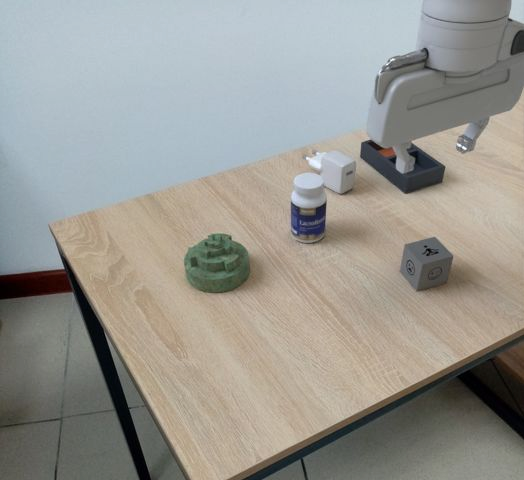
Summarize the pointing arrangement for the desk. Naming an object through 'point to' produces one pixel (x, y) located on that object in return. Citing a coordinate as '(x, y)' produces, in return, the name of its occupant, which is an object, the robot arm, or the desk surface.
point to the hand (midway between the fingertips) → (434, 160)
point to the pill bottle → (308, 208)
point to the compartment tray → (420, 177)
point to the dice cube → (426, 263)
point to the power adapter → (334, 169)
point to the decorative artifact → (217, 264)
